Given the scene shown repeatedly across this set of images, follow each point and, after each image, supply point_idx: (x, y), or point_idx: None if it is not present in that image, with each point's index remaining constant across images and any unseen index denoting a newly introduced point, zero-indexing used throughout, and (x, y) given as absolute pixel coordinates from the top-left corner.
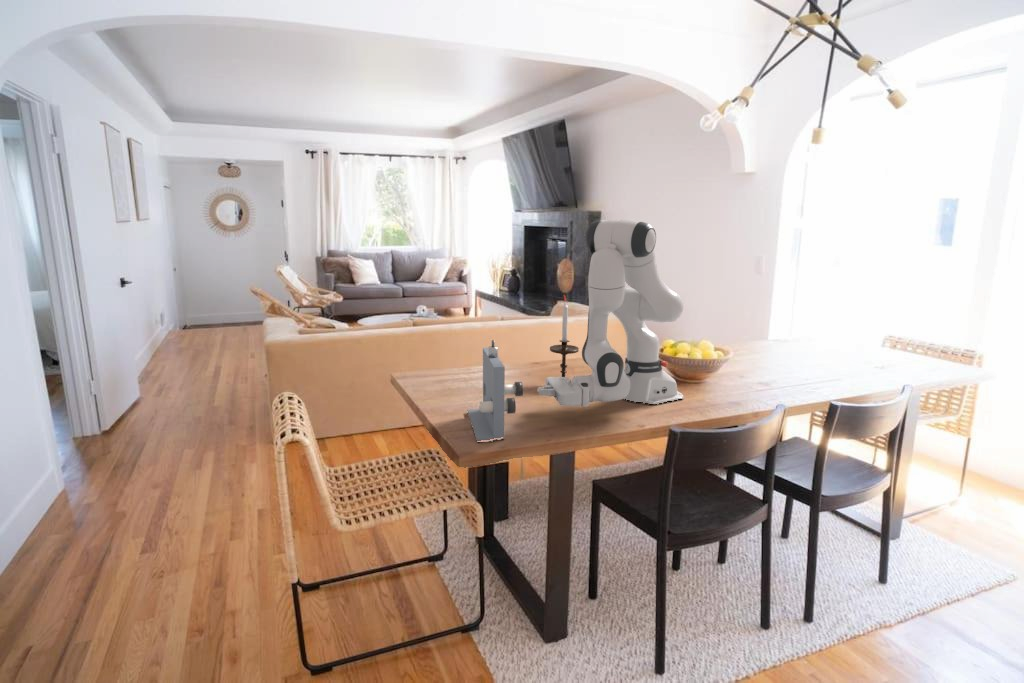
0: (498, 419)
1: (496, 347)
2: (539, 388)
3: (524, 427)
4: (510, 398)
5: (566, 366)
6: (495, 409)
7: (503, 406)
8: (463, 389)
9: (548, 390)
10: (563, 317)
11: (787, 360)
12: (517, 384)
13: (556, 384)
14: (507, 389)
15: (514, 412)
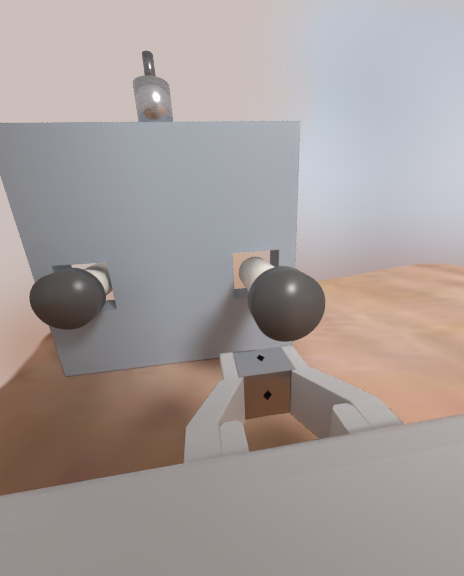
0: None
1: (138, 78)
2: (266, 350)
3: (139, 431)
4: (61, 270)
5: None
6: None
7: (35, 278)
8: (444, 304)
9: (201, 407)
10: None
11: None
12: (263, 275)
13: (401, 509)
14: (250, 282)
15: (47, 322)
